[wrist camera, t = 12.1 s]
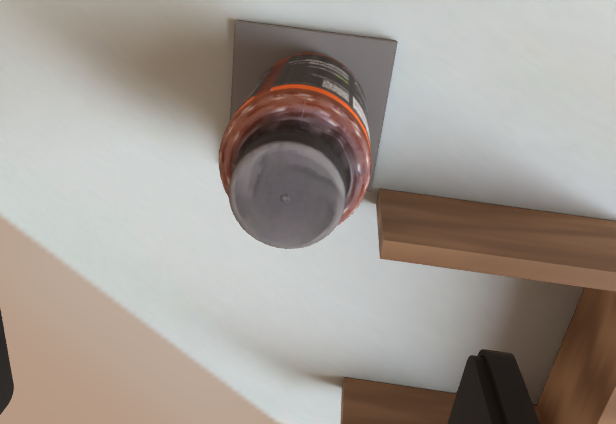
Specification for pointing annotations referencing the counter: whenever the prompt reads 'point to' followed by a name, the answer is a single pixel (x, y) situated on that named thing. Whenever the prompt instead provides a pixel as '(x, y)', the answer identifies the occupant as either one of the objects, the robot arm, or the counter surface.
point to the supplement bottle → (297, 152)
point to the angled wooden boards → (513, 263)
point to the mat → (342, 47)
